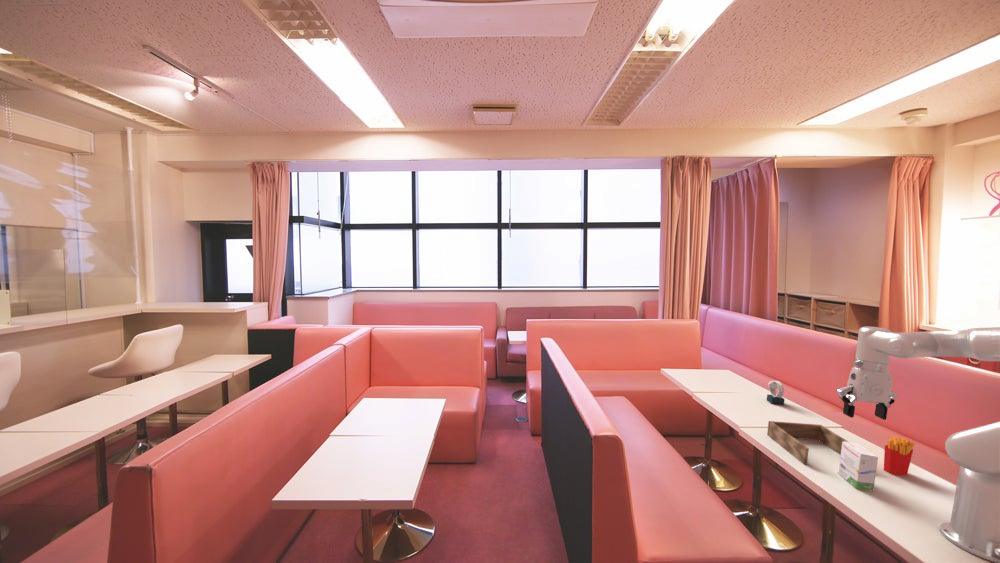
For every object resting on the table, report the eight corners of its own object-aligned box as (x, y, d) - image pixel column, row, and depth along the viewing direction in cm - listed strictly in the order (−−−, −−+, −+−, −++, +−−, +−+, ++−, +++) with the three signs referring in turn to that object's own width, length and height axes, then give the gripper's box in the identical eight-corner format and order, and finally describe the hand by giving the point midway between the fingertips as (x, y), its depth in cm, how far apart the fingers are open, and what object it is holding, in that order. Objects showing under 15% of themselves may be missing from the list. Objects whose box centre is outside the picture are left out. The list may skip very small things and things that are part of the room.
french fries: (890, 475, 122) (895, 442, 121) (877, 468, 126) (882, 435, 125) (914, 475, 122) (919, 442, 121) (901, 468, 126) (906, 436, 125)
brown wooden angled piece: (864, 469, 125) (867, 453, 125) (803, 464, 127) (805, 448, 126) (819, 438, 145) (821, 424, 144) (767, 435, 147) (768, 421, 146)
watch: (776, 399, 183) (778, 379, 182) (786, 406, 175) (788, 385, 174) (764, 398, 184) (766, 378, 183) (773, 405, 176) (775, 383, 175)
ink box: (874, 492, 113) (879, 457, 112) (856, 489, 114) (860, 454, 113) (854, 475, 122) (858, 442, 120) (837, 473, 123) (841, 440, 121)
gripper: (852, 367, 111) (845, 420, 113) (912, 371, 110) (904, 424, 112) (832, 360, 119) (826, 409, 120) (888, 363, 117) (881, 413, 119)
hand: (864, 416), depth 116 cm, fingers open, 9 cm apart
